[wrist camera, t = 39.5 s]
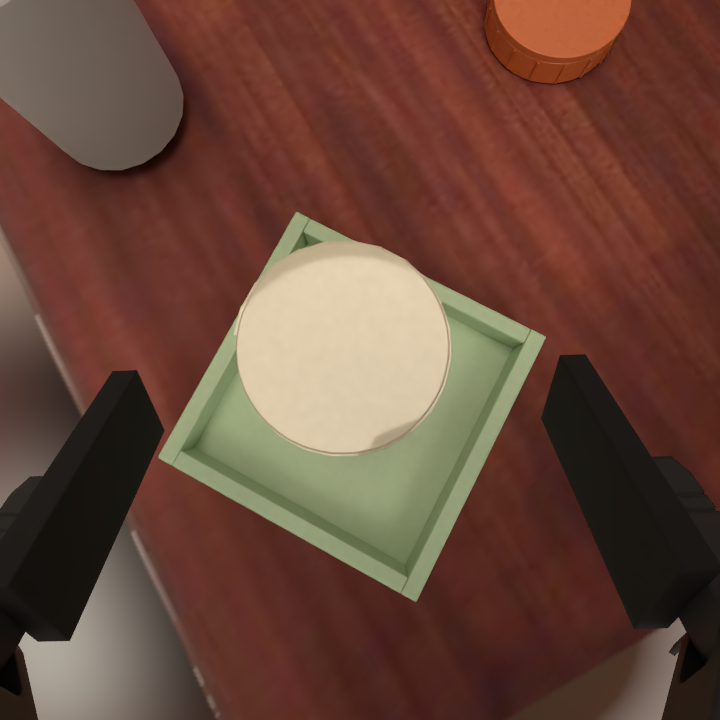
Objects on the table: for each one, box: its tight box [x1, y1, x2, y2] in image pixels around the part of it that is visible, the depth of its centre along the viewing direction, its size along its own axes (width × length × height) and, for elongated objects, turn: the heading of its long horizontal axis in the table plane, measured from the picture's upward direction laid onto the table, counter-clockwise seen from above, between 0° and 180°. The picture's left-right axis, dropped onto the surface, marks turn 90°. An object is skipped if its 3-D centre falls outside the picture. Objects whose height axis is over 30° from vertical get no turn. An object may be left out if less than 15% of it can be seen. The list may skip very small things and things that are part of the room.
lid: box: [484, 0, 631, 84], centre depth 25 cm, size 7×7×2 cm
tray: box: [158, 212, 546, 602], centre depth 22 cm, size 14×14×2 cm
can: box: [0, 0, 184, 170], centre depth 20 cm, size 8×8×12 cm
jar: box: [233, 241, 452, 457], centre depth 18 cm, size 6×6×11 cm
